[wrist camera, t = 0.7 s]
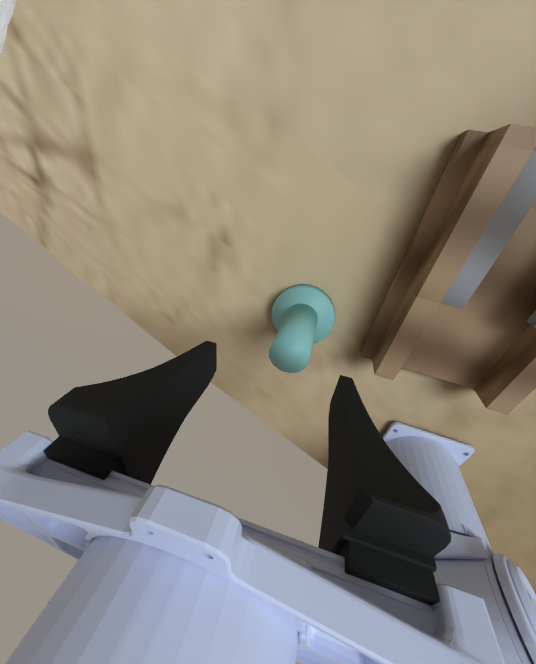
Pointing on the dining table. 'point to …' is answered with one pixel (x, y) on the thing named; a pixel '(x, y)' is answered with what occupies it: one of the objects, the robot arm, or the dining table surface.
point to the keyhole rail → (470, 276)
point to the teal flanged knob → (299, 325)
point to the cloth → (5, 18)
